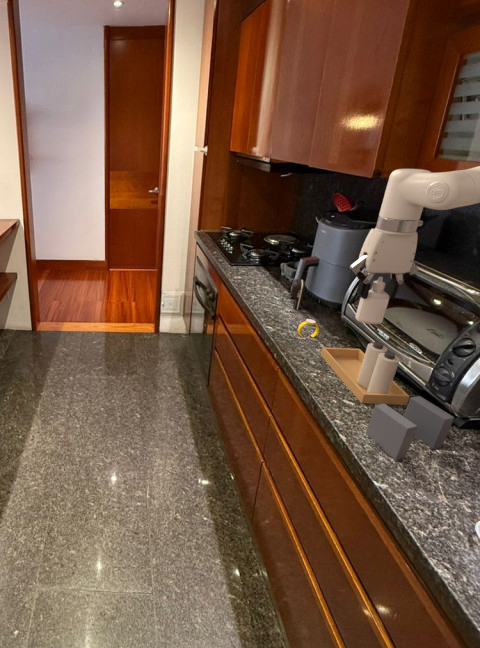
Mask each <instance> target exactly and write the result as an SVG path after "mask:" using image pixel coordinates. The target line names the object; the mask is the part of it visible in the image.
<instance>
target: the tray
mask: <svg viewBox="0 0 480 648" xmlns="http://www.w3.org/2000/svg"><path fill="white" fill-rule="evenodd" d="M365 353H366V352H364V351H362V349H360V348H350V347H349V348H347V347H346V348H345V347H322V348H321V353H320V356H321V358H322V359H323V360H324V361H325V362H326V363H327V365H328V366H329V367H330V368H331V369H332V371H334V373H335V374H336V375H337V376H338V377H339V378H340V379H341V381H342V382H343V383H344V385H345V386H346V387H347V388H348V389H349V391H351V393H352V394H353V395H354V396H355V397H356V399H357V400H358V401H359V402H360V403H361V404H373V405H379V404H386V405H393V406H408V403H409V401H410V398H411V397H410V395H409V394H408V393H407V392H406V391H405V389H403V388H402V387H401V386H400V385H399V384H397V383H396V381H394V380H393V381H392V384H391V387H390V390H389V393H388V394H377V393H367V390H368V389H366V388H363V387H361V386H360V385H358V384H357V379H358V376H359V372H360V369H361V366H362V362H363V359H364V356H365Z"/></svg>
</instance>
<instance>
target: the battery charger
mask: <svg viewBox="0 0 480 648" xmlns="http://www.w3.org/2000/svg"><path fill="white" fill-rule="evenodd" d="M305 287H306V281H305V280H304V279H300V278H295V279H293V281H292V283H291V286H290V297H291V298H293V303H292V304H293V310H298V311H300V310H301V307H302V303H303V297H304V293H305ZM289 312H290V313H292V314H294V312H293V311H291V310H289Z"/></svg>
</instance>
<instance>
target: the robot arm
mask: <svg viewBox="0 0 480 648" xmlns="http://www.w3.org/2000/svg"><path fill="white" fill-rule="evenodd" d="M475 204H480V165H479V166H475V167H470V168H467V169H460V170H452V171H442V172H432V171H430V170H427V169H423V168H398V169H395V170H393V171H392V172H391V173H390V175H389V177H388V181H387V184H386V188H385V191H384V195H383V198H382V203H381V207H380V209H379V213H378V217H377V221H376V223H375V228H371V229H370V230H369V231H368V234H367V236H366V237H365V240H364V242H363V245H362V247H361V250H360V252H359V256H358V259H357V260H356V261H354V262H353V263H352V264H351V265H349V269H350V271H351V272H352V273H353V274H354V275H355V277H357V279H358V280H359V282H358V285H357V289H356V292H357V293H356V294H357V296H358V297H360V299H361V298H363V299H366V298H367V297H368V293H369V290H371V287H372V284H371V283H370V281H371V280H372V279H373V277H374V276H375V275H376V274H389V275H390V276H389V277H390V279H388V280H387V281H386V283H385V287H384V290H383V292H385V293H387V294H388V295H389V300H394V301H395V298H396V295H397V293H398V290H399V287H400V285H403V284H404V281H406V280H407V279H409V278H410V277H411V276H412V275H414V274H416V273H417V272H419V270H420V269H419V268H418V266H417V264H416V263H415V261H414V259H415V256H416V251H417V247H418V232H417V229H418V227H422V226H423V225H424V221H423V220H420V219H421V216H422V212H423V211H424V208H427V209H430V210H435V211H446V210H451V209H456V208H461V207H467V206H472V205H475ZM361 268H362V270H361Z"/></svg>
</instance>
